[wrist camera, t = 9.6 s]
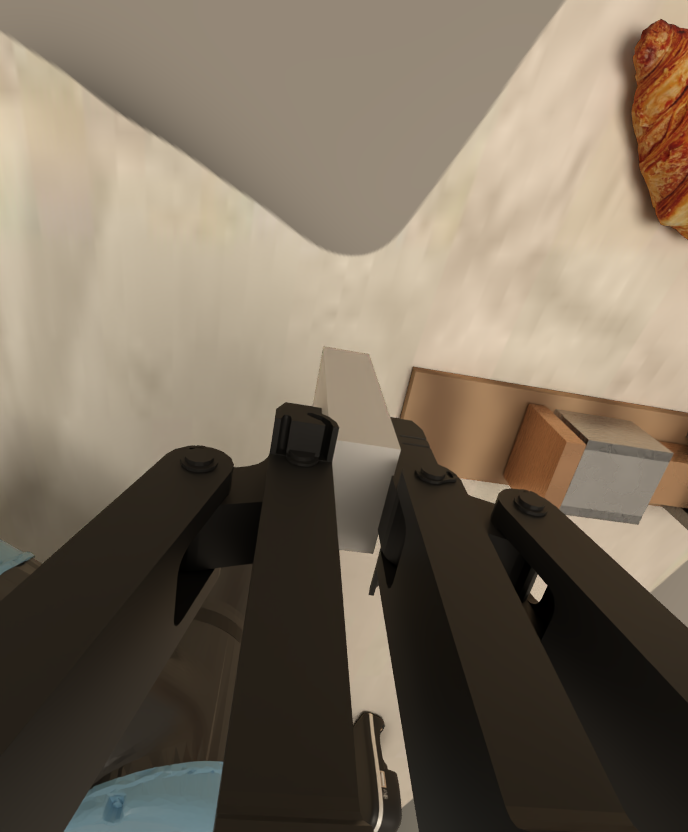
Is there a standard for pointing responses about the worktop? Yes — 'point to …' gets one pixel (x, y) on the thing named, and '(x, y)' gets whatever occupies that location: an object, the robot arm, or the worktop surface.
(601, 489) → the grey concrete cube
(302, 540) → the robot arm
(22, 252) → the worktop surface
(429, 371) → the board
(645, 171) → the croissant
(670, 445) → the wood grain post
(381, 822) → the battery charger
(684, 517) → the grey box
